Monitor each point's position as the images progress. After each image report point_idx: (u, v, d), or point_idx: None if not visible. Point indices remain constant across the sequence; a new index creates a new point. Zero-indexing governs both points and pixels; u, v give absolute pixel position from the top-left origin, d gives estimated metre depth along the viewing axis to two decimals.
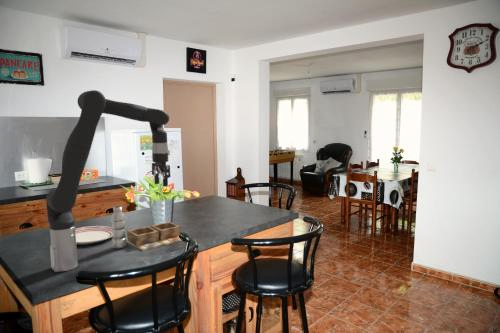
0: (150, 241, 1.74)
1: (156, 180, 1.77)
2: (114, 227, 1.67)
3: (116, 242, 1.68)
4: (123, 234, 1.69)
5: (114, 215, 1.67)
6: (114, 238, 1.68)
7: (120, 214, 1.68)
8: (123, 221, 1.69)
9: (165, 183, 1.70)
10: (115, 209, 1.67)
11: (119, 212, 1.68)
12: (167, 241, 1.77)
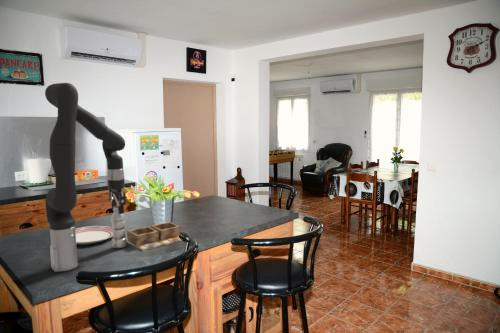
0: (150, 241, 1.74)
1: (113, 206, 1.71)
2: (114, 227, 1.67)
3: (116, 242, 1.68)
4: (123, 234, 1.69)
5: (114, 215, 1.67)
6: (114, 238, 1.68)
7: (120, 214, 1.68)
8: (123, 221, 1.69)
9: (121, 210, 1.65)
10: (115, 209, 1.67)
11: None
12: (167, 241, 1.77)
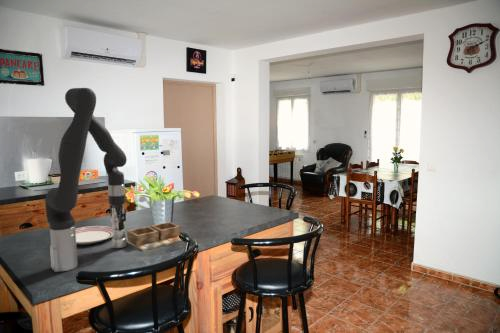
0: (150, 241, 1.74)
1: None
2: (114, 227, 1.67)
3: (116, 242, 1.68)
4: (123, 234, 1.69)
5: (114, 215, 1.67)
6: (114, 238, 1.68)
7: None
8: None
9: (120, 227, 1.66)
10: None
11: None
12: (167, 241, 1.77)
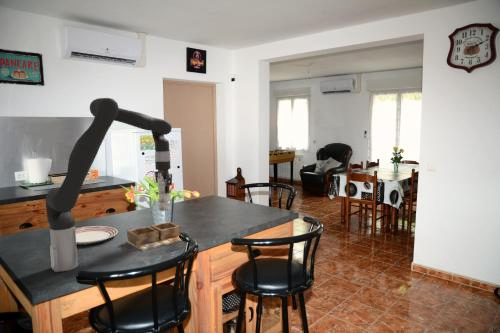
0: (150, 241, 1.74)
1: None
2: (160, 191, 1.81)
3: (162, 204, 1.81)
4: (168, 197, 1.83)
5: (160, 179, 1.80)
6: (160, 201, 1.81)
7: None
8: None
9: (167, 190, 1.80)
10: None
11: None
12: (167, 241, 1.77)
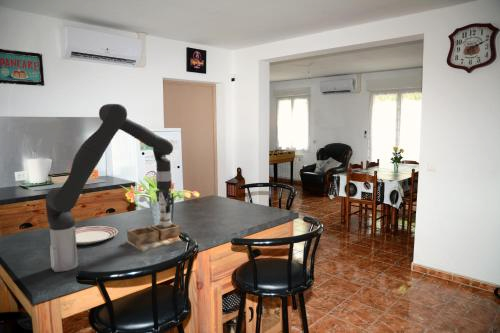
0: (150, 241, 1.74)
1: None
2: (161, 210, 1.82)
3: (163, 223, 1.82)
4: (169, 217, 1.84)
5: (162, 199, 1.82)
6: (161, 220, 1.83)
7: None
8: None
9: (168, 210, 1.81)
10: None
11: None
12: (167, 241, 1.77)
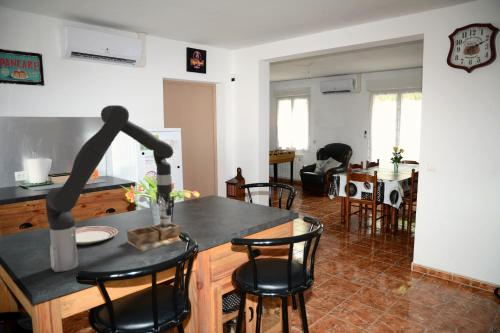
0: (150, 241, 1.74)
1: None
2: (162, 216, 1.83)
3: None
4: (169, 223, 1.85)
5: (162, 205, 1.82)
6: (161, 226, 1.83)
7: None
8: None
9: (169, 213, 1.81)
10: None
11: None
12: (167, 241, 1.77)
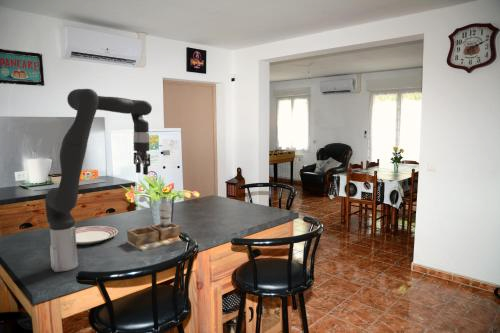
0: (150, 241, 1.74)
1: (137, 169, 1.82)
2: (162, 216, 1.82)
3: None
4: (169, 223, 1.85)
5: (162, 205, 1.82)
6: (162, 226, 1.83)
7: (167, 204, 1.83)
8: (170, 211, 1.84)
9: (145, 171, 1.75)
10: (163, 200, 1.82)
11: (166, 202, 1.83)
12: (167, 241, 1.77)
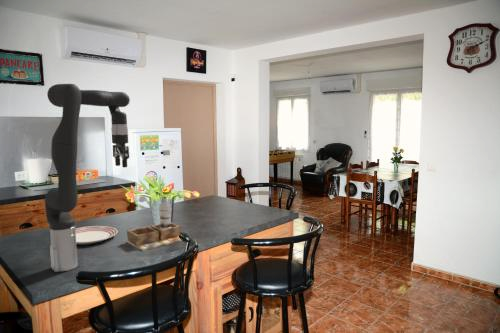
0: (150, 241, 1.74)
1: (117, 162, 1.79)
2: (162, 216, 1.82)
3: None
4: (169, 223, 1.85)
5: (162, 205, 1.82)
6: (161, 226, 1.83)
7: (167, 204, 1.83)
8: (170, 211, 1.84)
9: (124, 164, 1.72)
10: (163, 200, 1.82)
11: (166, 202, 1.83)
12: (167, 241, 1.77)
